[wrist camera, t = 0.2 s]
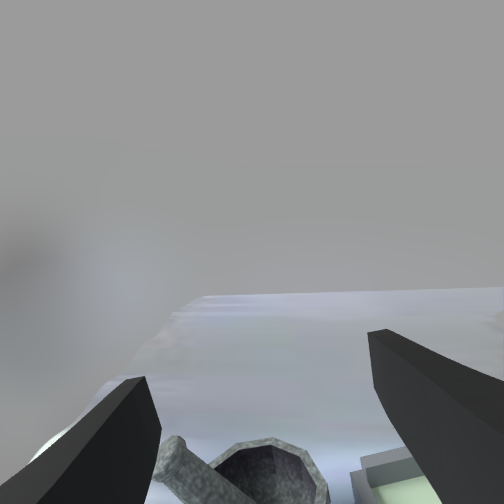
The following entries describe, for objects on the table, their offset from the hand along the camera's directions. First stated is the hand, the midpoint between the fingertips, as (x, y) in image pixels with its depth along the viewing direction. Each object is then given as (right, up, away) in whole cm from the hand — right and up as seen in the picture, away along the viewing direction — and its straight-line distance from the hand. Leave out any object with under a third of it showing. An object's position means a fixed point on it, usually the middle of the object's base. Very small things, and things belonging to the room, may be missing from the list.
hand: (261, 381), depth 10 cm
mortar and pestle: (+1, -19, +13) cm, 23 cm away
